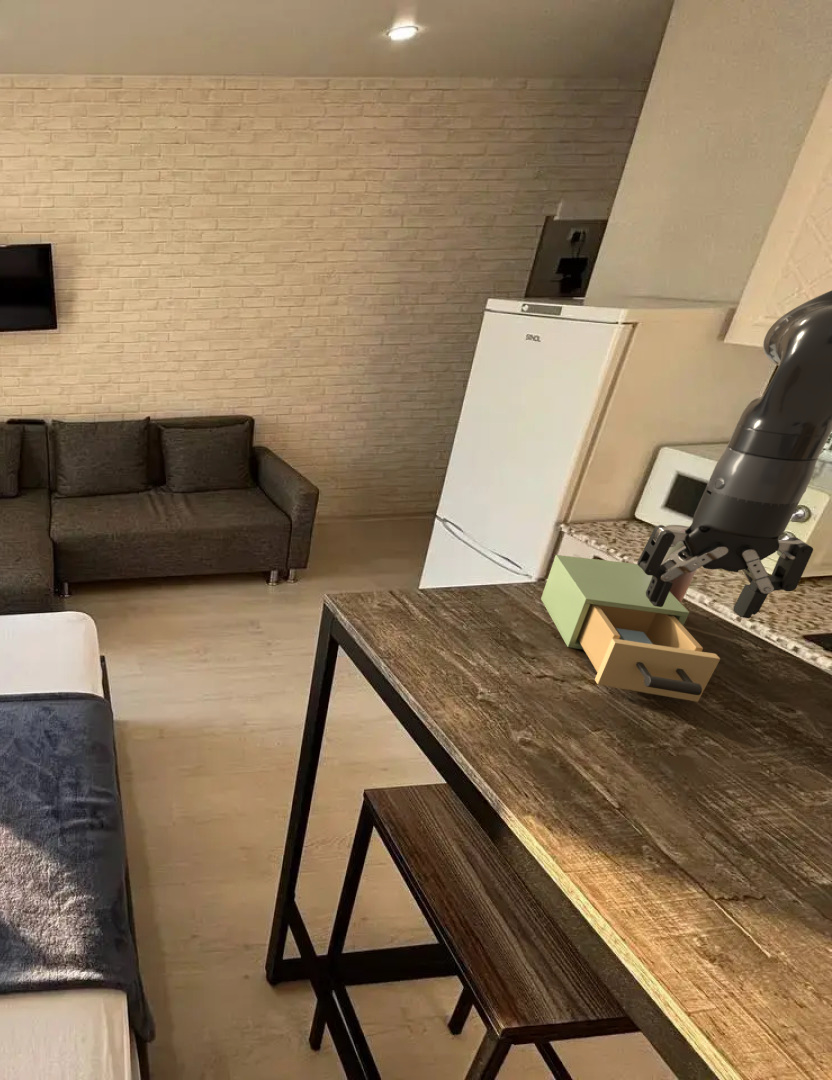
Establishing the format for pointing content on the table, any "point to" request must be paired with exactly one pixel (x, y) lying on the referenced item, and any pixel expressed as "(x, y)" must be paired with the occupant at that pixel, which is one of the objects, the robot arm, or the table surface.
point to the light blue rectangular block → (633, 636)
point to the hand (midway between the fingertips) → (696, 609)
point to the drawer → (645, 653)
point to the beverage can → (685, 579)
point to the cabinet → (598, 592)
